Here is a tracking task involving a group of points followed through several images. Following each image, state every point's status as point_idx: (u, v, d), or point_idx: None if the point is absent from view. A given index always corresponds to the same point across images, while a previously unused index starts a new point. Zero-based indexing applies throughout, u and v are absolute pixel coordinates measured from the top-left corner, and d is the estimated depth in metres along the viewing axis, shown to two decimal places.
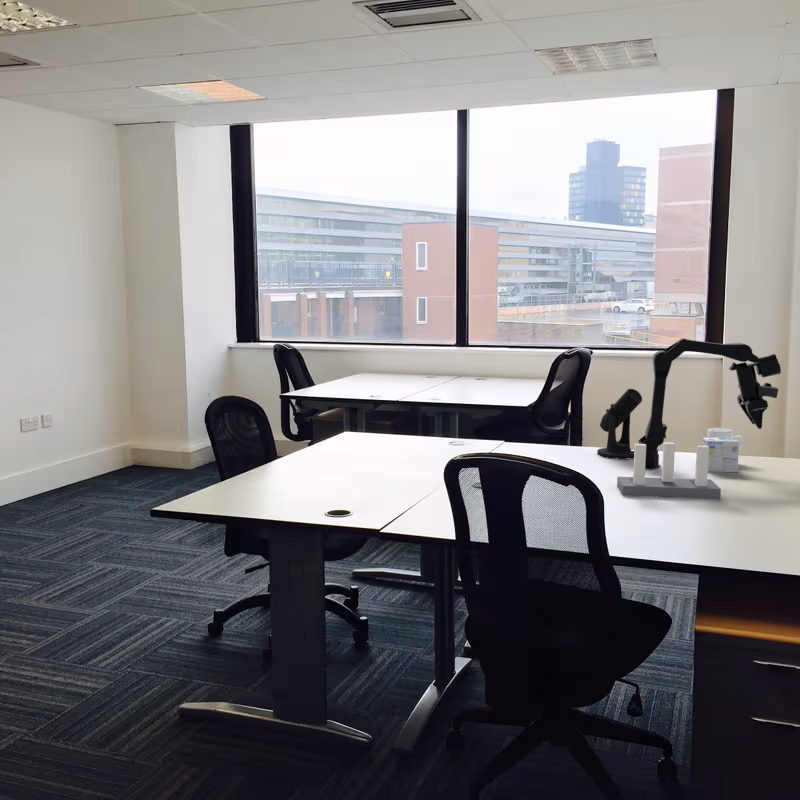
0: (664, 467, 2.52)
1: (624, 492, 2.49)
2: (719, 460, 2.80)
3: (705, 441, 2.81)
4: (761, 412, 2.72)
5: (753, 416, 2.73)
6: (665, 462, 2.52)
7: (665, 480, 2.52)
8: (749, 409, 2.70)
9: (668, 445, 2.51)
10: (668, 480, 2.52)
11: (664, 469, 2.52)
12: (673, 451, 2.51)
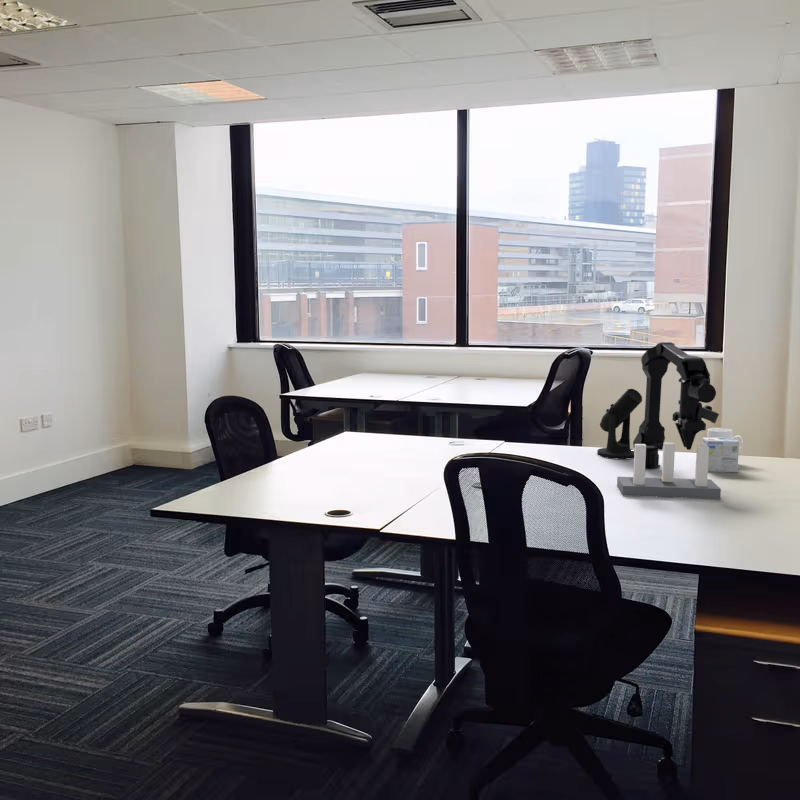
0: (664, 467, 2.52)
1: (624, 492, 2.49)
2: (719, 460, 2.80)
3: (705, 441, 2.81)
4: (694, 433, 2.55)
5: (685, 435, 2.55)
6: (665, 462, 2.52)
7: (665, 480, 2.52)
8: (685, 428, 2.50)
9: (668, 445, 2.51)
10: (668, 480, 2.52)
11: (664, 469, 2.52)
12: (673, 451, 2.51)
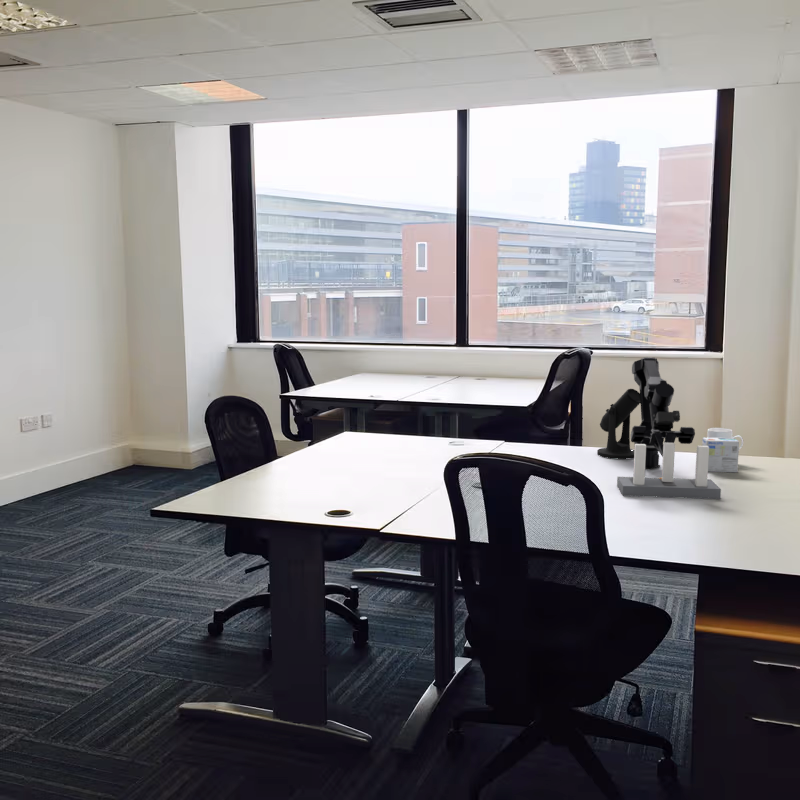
0: (664, 467, 2.52)
1: (624, 492, 2.49)
2: (719, 460, 2.80)
3: (705, 441, 2.81)
4: (657, 440, 2.61)
5: (657, 447, 2.62)
6: (665, 462, 2.52)
7: (665, 480, 2.52)
8: None
9: (668, 445, 2.51)
10: (668, 480, 2.52)
11: (664, 469, 2.52)
12: (673, 451, 2.51)
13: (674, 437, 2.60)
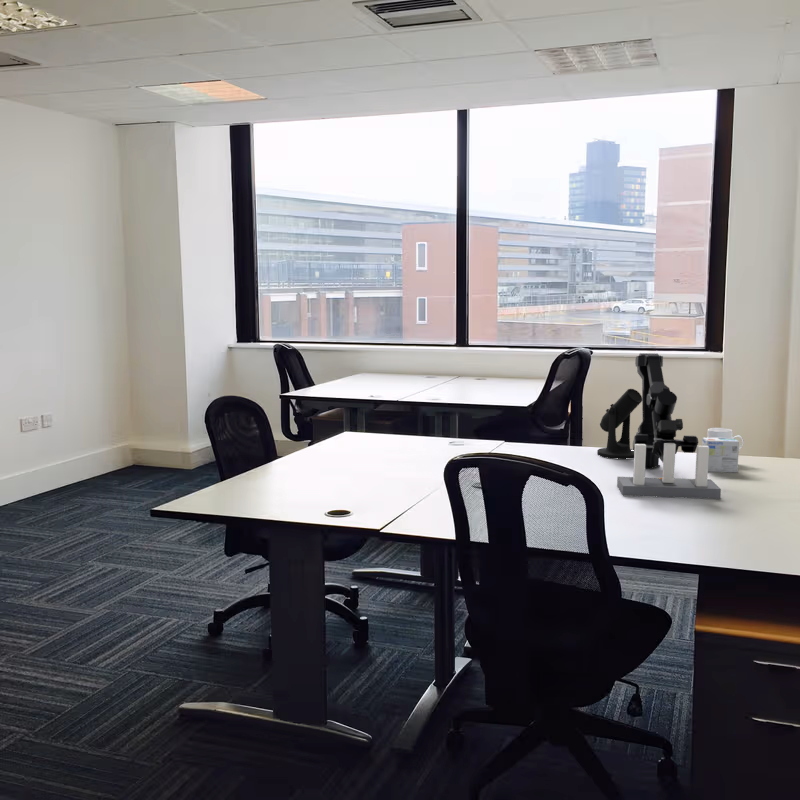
0: (665, 468, 2.51)
1: (624, 492, 2.49)
2: (719, 460, 2.80)
3: (705, 441, 2.81)
4: (659, 449, 2.56)
5: (659, 456, 2.57)
6: (666, 463, 2.51)
7: (666, 481, 2.52)
8: None
9: (669, 446, 2.50)
10: (669, 481, 2.51)
11: (665, 470, 2.51)
12: (674, 452, 2.50)
13: (677, 446, 2.55)
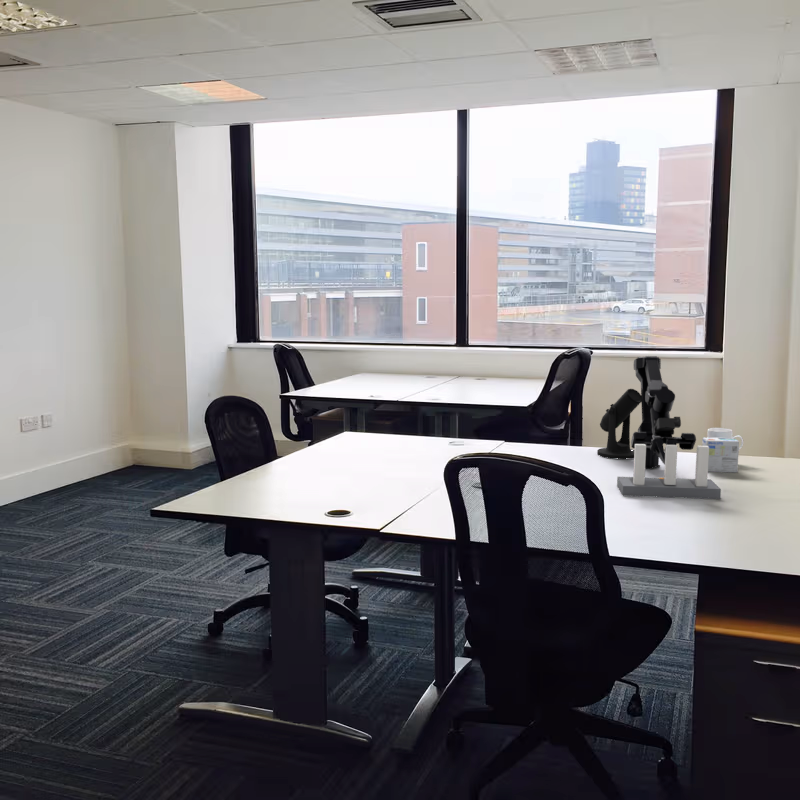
0: (666, 470, 2.49)
1: (624, 492, 2.49)
2: (719, 460, 2.80)
3: (705, 441, 2.81)
4: (657, 446, 2.59)
5: (657, 453, 2.60)
6: (667, 464, 2.48)
7: (667, 483, 2.49)
8: None
9: (670, 447, 2.47)
10: (670, 483, 2.49)
11: (666, 472, 2.49)
12: (675, 453, 2.48)
13: (675, 443, 2.58)
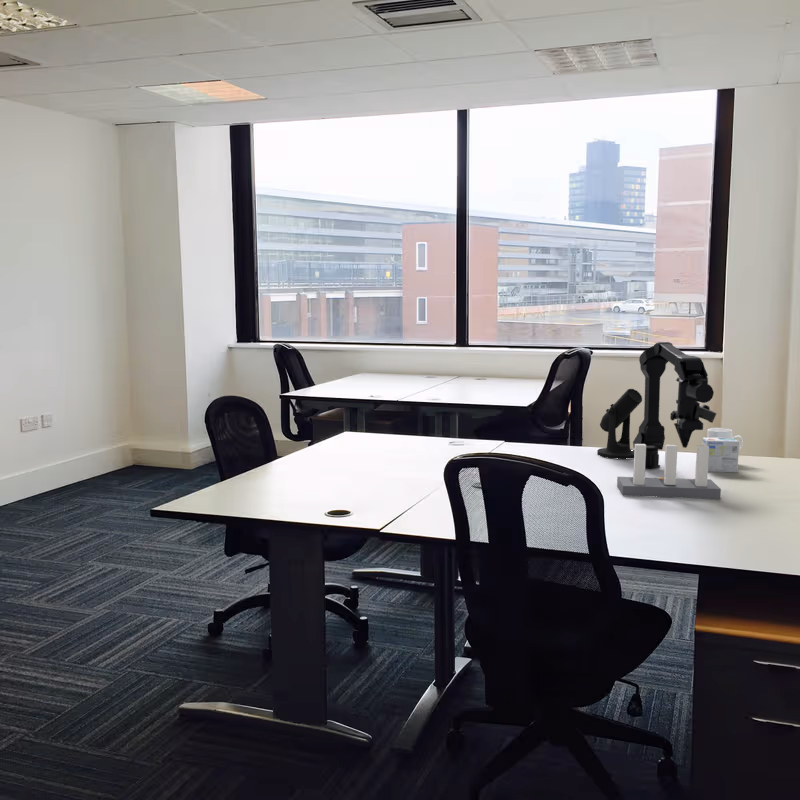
0: (666, 470, 2.49)
1: (624, 492, 2.49)
2: (719, 460, 2.80)
3: (705, 441, 2.81)
4: (690, 431, 2.58)
5: (681, 433, 2.59)
6: (667, 464, 2.48)
7: (667, 483, 2.49)
8: (683, 428, 2.51)
9: (670, 447, 2.47)
10: (670, 483, 2.49)
11: (666, 472, 2.49)
12: (675, 453, 2.48)
13: None
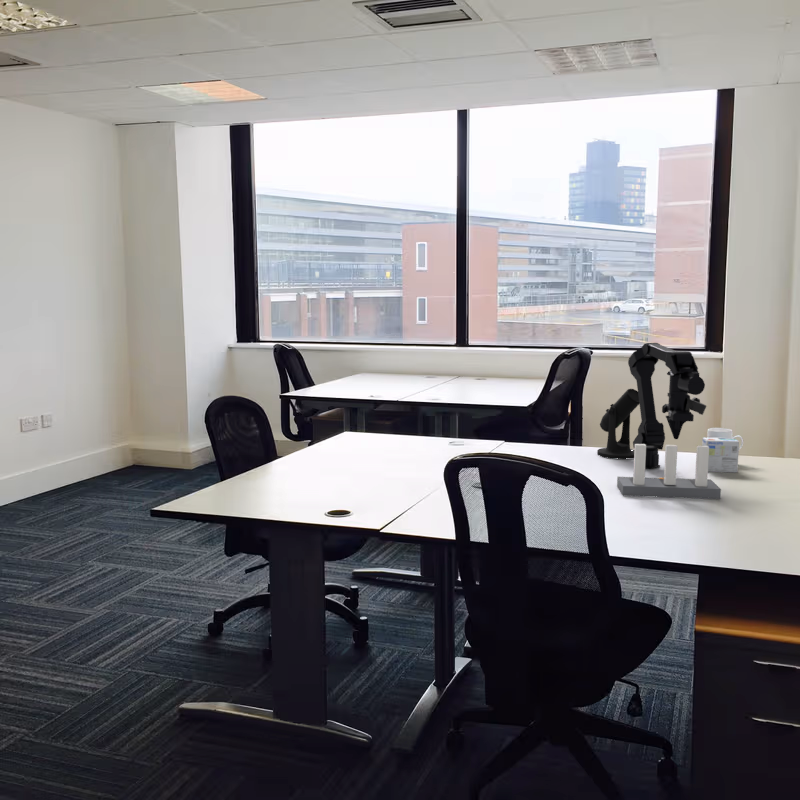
0: (666, 470, 2.49)
1: (624, 492, 2.49)
2: (719, 460, 2.80)
3: (705, 441, 2.81)
4: (681, 423, 2.66)
5: (673, 425, 2.67)
6: (667, 464, 2.48)
7: (667, 483, 2.49)
8: (674, 419, 2.59)
9: (670, 447, 2.47)
10: (670, 483, 2.49)
11: (666, 472, 2.49)
12: (675, 453, 2.48)
13: None
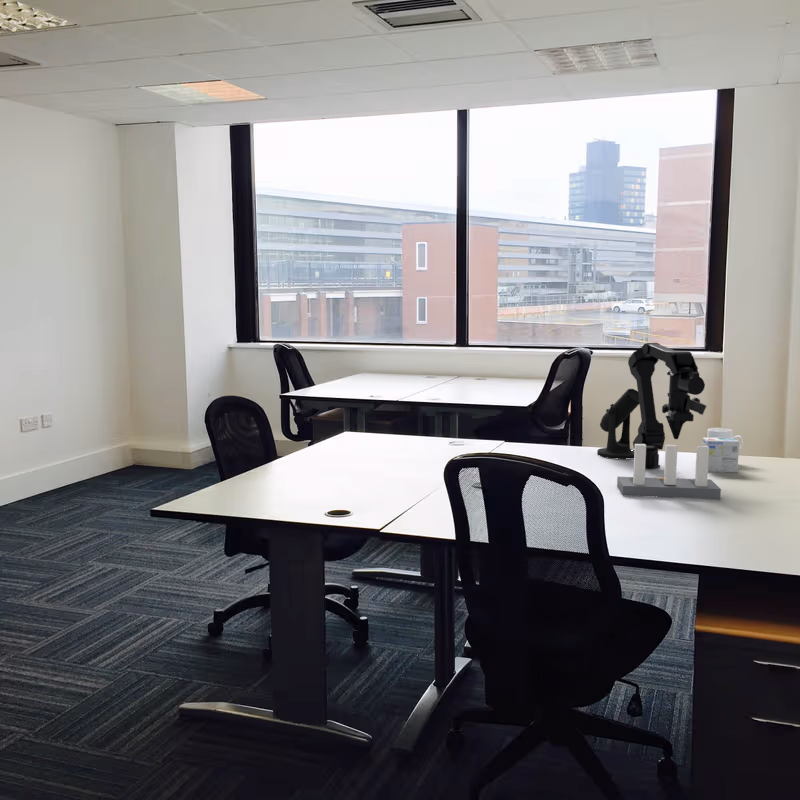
0: (666, 470, 2.49)
1: (624, 492, 2.49)
2: (719, 460, 2.80)
3: (705, 441, 2.81)
4: (681, 423, 2.66)
5: (673, 425, 2.67)
6: (667, 464, 2.48)
7: (667, 483, 2.49)
8: (674, 419, 2.59)
9: (670, 447, 2.47)
10: (670, 483, 2.49)
11: (666, 472, 2.49)
12: (675, 453, 2.48)
13: None
